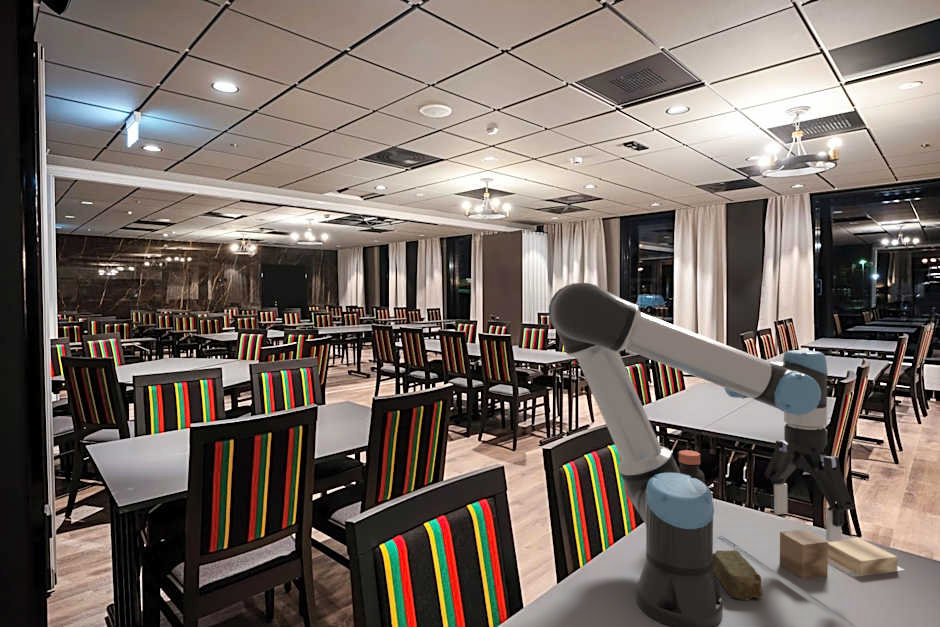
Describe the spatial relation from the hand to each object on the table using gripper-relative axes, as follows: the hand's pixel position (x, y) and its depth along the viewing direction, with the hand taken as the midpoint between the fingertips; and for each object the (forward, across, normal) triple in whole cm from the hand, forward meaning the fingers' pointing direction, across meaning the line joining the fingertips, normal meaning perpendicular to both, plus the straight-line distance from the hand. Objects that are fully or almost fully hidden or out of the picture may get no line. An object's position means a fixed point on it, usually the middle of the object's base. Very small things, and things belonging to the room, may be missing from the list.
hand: (805, 526), depth 111 cm
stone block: (+10, -1, +17) cm, 20 cm away
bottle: (+10, +22, +13) cm, 27 cm away
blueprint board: (+10, 0, -13) cm, 17 cm away
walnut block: (+10, 0, +1) cm, 10 cm away
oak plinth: (+9, 0, -13) cm, 16 cm away
